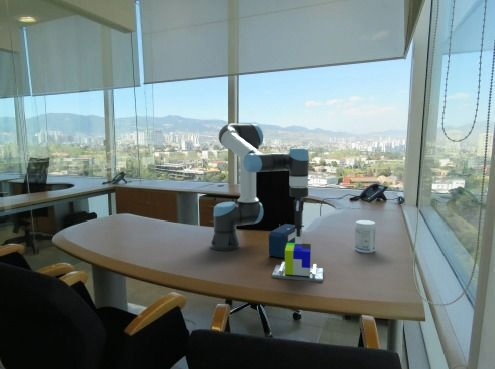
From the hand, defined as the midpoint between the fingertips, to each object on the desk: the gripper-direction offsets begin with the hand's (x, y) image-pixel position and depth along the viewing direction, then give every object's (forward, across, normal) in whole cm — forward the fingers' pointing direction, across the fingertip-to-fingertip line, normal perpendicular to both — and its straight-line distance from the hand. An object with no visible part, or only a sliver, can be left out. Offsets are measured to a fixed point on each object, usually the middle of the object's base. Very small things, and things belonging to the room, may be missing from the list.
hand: (298, 243), depth 130 cm
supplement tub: (+14, +37, -30) cm, 50 cm away
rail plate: (+13, 0, 0) cm, 13 cm away
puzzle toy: (+12, 0, 0) cm, 12 cm away
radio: (+14, +26, +9) cm, 31 cm away
